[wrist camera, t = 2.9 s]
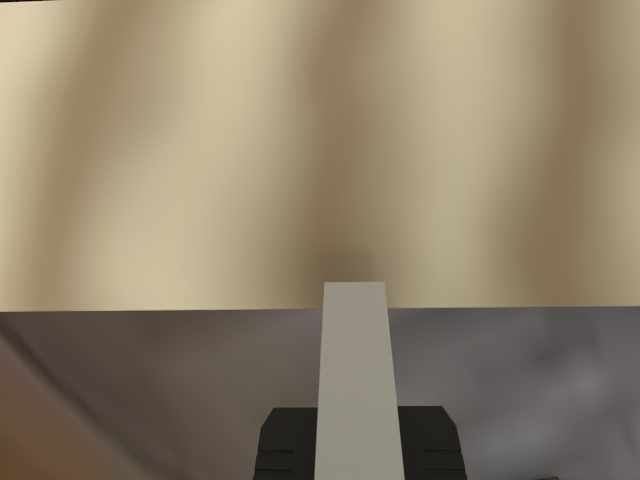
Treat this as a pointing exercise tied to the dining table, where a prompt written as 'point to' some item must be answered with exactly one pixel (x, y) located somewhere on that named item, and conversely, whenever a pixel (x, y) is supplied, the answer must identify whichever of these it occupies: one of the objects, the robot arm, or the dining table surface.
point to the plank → (318, 153)
